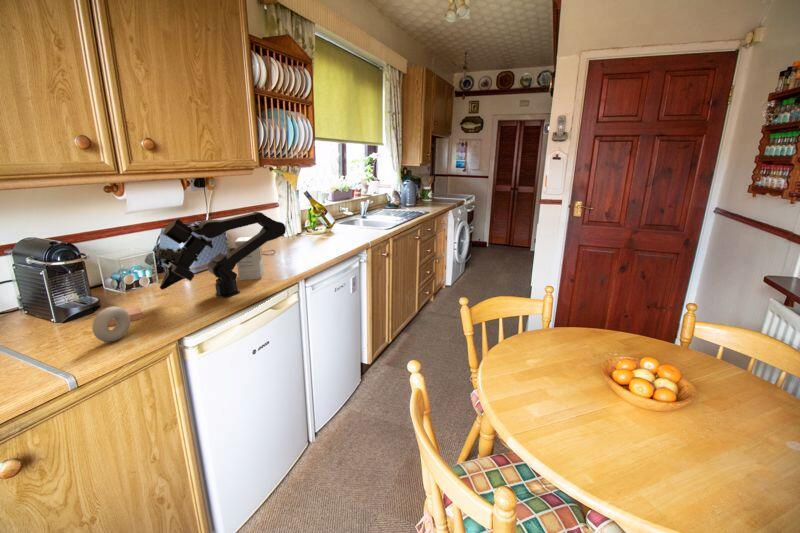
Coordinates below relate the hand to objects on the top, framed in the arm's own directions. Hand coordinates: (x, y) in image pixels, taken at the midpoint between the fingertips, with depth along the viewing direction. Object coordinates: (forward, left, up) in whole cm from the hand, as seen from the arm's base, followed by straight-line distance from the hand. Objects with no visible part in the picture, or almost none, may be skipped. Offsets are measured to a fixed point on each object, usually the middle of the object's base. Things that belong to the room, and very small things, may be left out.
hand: (161, 288), depth 127 cm
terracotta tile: (+7, -2, -6) cm, 10 cm away
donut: (+20, +12, -7) cm, 24 cm away
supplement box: (-39, -6, -7) cm, 40 cm away
